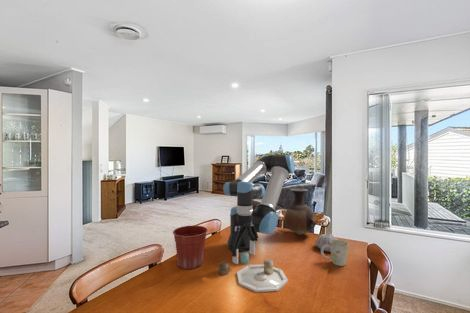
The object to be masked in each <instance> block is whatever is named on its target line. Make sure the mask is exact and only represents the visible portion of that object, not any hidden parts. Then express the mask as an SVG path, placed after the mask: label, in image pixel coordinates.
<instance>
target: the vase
mask: <svg viewBox="0 0 470 313" xmlns="http://www.w3.org/2000/svg"><path fill="white" fill-rule="evenodd" d="M289 191H291V192H293V194H294V201H293V203H292V204H291V205H289V206H288V207H287V208H286V210H285V213H284V226H285V227H286V229H288V230H289V231H290V232H292V233H295V234H296V235H298V236H302V235H304V234H307V233H310V232H312V231H314V230H315V227H316V219H315V218H316V217H315V215H314V214H315V213H314V212H313V210H312V209H311V207H310V206H309V205H307V202H305V201H304V193H306V192H308V191H309V189H307V188H289Z"/></svg>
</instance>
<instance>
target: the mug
mask: <svg viewBox="0 0 470 313" xmlns="http://www.w3.org/2000/svg"><path fill="white" fill-rule="evenodd" d="M349 244H350V243H348V242H347V241H345V240H341V239H338V240H331V241H330V245H324V246H323V247H322V248H321V249H320V253H321V256H322V257H324V258H325V259H327V260H328V259H329V260H331V262H332V263H333V264H334V265H336V266H338V267H339V266H340V267H343V266H346V264H347V258H348V251H349ZM326 247H328V248H331V252H330V255H331V256H327V255H326V254H325V253H324V252H325V251H324V249H325V248H326Z"/></svg>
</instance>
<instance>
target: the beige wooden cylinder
mask: <svg viewBox="0 0 470 313" xmlns="http://www.w3.org/2000/svg"><path fill="white" fill-rule="evenodd" d="M263 264H264V273H265V274H267V275H271V274H273V267H274V260H272V259H267V258H266V259H264V260H263Z"/></svg>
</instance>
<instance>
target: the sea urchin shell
mask: <svg viewBox="0 0 470 313" xmlns="http://www.w3.org/2000/svg"><path fill="white" fill-rule="evenodd" d="M331 240H339V238H337V237H336V236H334V235H333V234H331V233H323V234H320V235H319V236H318V237H317V239H316V240H315V245H316V247H317V248H318V249H319V250H321V248H322V247H323V246H324V245H330V241H331ZM323 252H329V253H331V248H328V247H326V248H325V249H324V250H323Z"/></svg>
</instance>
